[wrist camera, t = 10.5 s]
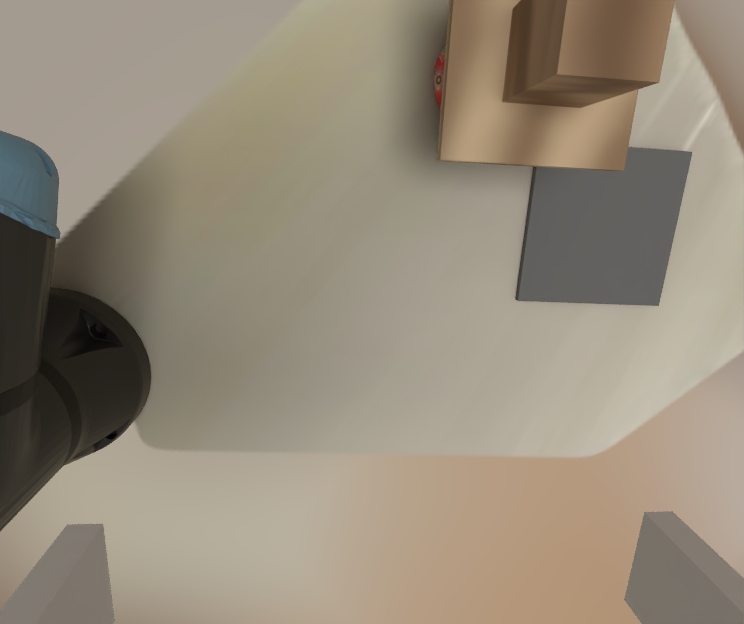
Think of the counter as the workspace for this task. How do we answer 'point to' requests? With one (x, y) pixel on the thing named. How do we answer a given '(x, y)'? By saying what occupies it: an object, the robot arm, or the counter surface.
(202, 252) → the counter surface
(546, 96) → the lid
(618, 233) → the mat
